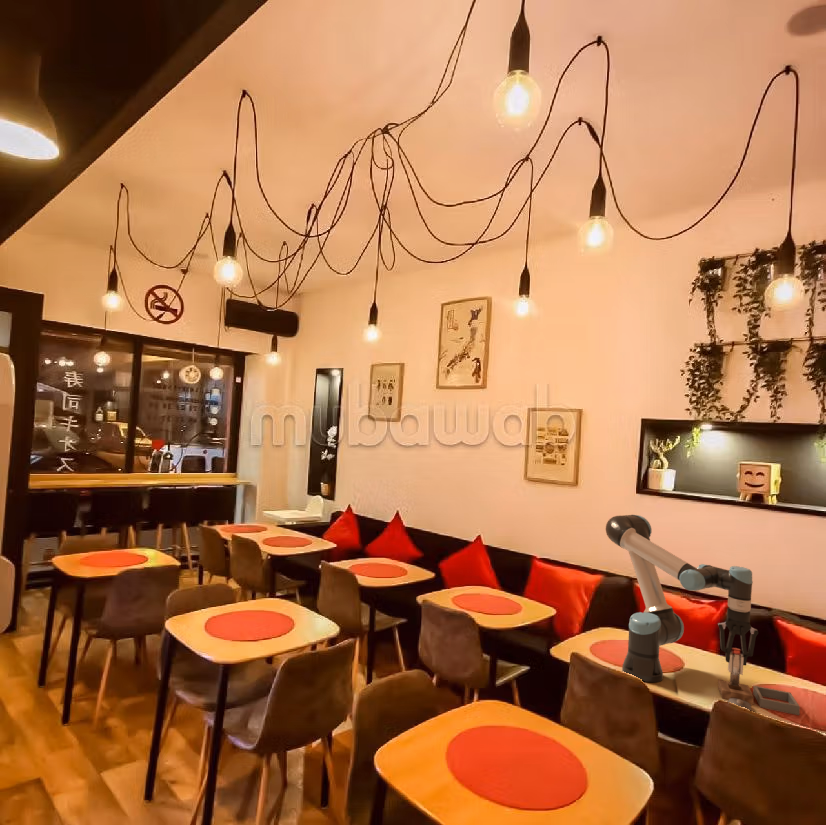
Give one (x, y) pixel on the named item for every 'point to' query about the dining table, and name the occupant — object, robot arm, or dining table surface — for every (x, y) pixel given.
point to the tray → (788, 707)
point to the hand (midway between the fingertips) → (735, 672)
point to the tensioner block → (736, 694)
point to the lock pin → (735, 667)
